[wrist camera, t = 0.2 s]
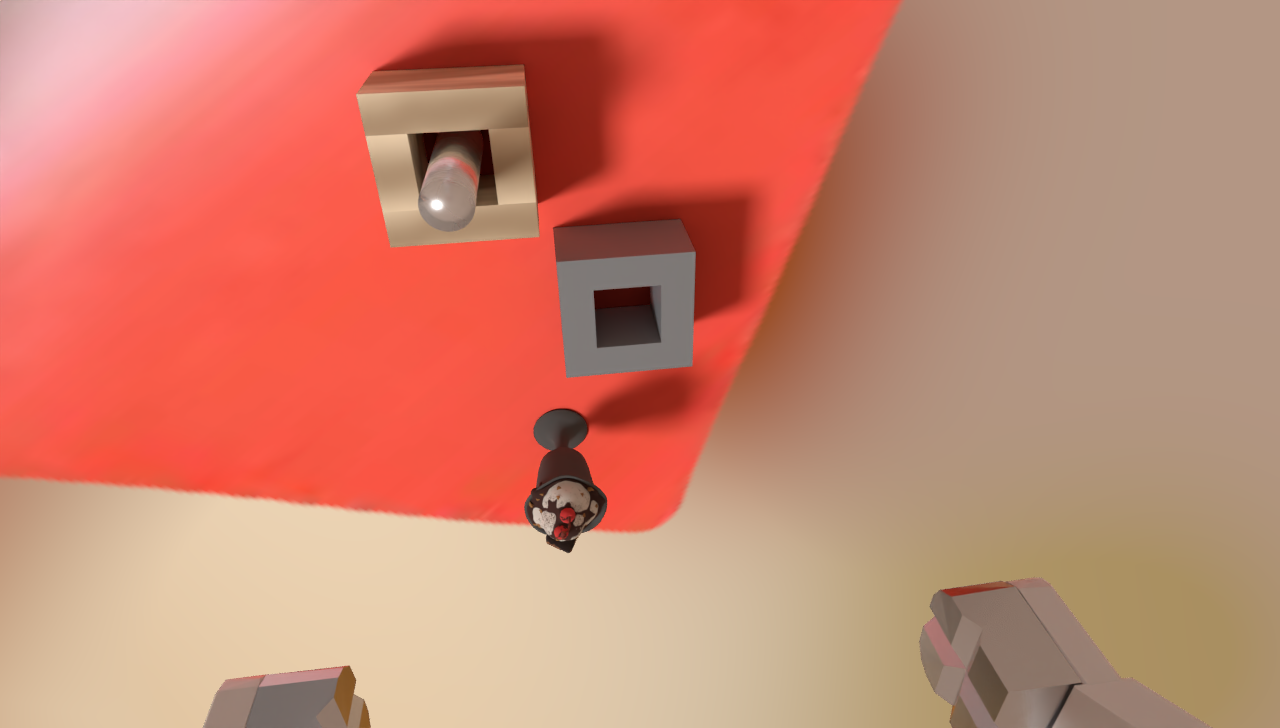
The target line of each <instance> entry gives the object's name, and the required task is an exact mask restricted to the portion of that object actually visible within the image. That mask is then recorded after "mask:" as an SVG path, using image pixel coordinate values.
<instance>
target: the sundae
mask: <svg viewBox="0 0 1280 728" xmlns="http://www.w3.org/2000/svg"><path fill="white" fill-rule="evenodd" d="M586 434H587V424H586V422H585V420H584V419H583V417H581V416H580V415H579V414H577V413H576V412H573V411H570V410H565V409H559V410H553V411H550V412H548V413H546V414H544V415H543V416H541V417H540V418H539V419H538V420H537V422H536V424H535V426H534V437H535V439H536V441H537V442H538V443H539V444H540V445H541V446H543V447H544V448H546V449H549V450H552V451H550V452H549V453H547V454H546V455H545V456H544V457H543V459H542V461H541V464H540V467H539V471H538V478H537V485H536V488H534V489H532V491H531V495H530V496H529V497H528V499H527V500H526V502H525V506H524V508H525V514H526V517H527V519H528V521H529V522H530V524H531V525H532V526H533V528H535V529H536V530H538V531H539V532H541V533H543V534H547V536H546V542H547V544H549V545H551V546H553V547H555V548H557V549H560V550H563V551H565V552H567V553H570V552H571V551H572V548H573V546H574V544H575V541H576V539H577V538H578V536H579V535H580V534H581V533H584V532H587V531H590V530H591V529H593V528H594V527H596V526H597V525H598V524H599V523H600V522H601V520H602V518H603V517H604V514H605V512H606V508H607V498H606V496H605V494H604V493H603V492H602V491H601V490H600V489H599V488H598V487H597V486H595V485H594V484H593V481H592V478H591V474H590V471H589V468H588V465H587V463H586V461H585V459H584V457H583V456H582V454H581V453H579V452H578V451H576V450H574V449H573V448H575V447H576V446H578V445H579V444H580V443H581V442H582V441H583V440H584V438H585V437H586Z"/></svg>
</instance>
